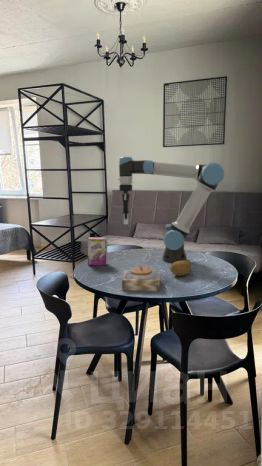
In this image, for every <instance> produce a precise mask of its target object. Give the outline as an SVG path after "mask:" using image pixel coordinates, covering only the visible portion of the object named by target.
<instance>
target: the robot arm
mask: <svg viewBox="0 0 262 466" xmlns="http://www.w3.org/2000/svg"><path fill="white" fill-rule="evenodd" d="M118 162H119V164H118V169H119V170H118V171H119V177H118V181H119V182H118V184H119V185H118V187H119V190H118V191H119V192H123V193H122V195H121V196H122V202H123V205H122V206H123V209H122V210H123V212H122V214H123V225H129V214H130V211H129V210H130V209H129V202H130V193H129V192H132V191H133V175H135V174H136V175H139V174H140V175H151V176H152V175H153V176H162V177H175V178H184V179H193V180H196V181H195V182H196V186H195V188H194V189H193V191H192V193H191V194H190V196H189V198H188V199H187V202H186V203H185V205H184V207H183V208H182V209H181V212H180V214H179V215H178V217H177V219H176V220H175V221H173V222H171V223H167V224H166V225H165V234H164V236H163V243H164V246H165V248H164V252H163V254H162V261H163V262H166V263H170V264H173V263H174V262H177V261H181V260H187V261H188V258H187V253H186V250H185V240H186V239H187V237H188V236H189V235H190V227H192V224H193V223H194V221H195V219H196V217H197V216H198V214H199V213H200V211H201V209H202V208H203V205H205V202H206V201H207V199H208V197H209V196H210V194H211V193H213V192H215V191H216V189H217V188H218V186H219V184H220V183H222V181H223V179H224V178H225V170H224V168H223V166H222V165H221V164H220V163H218V162H210V163H207V164H197V165H190V164H189V165H188V164H177V163H168V162H159V161H158V162H155V161H153V160H149V159H146V160H145V159H144V160H143V159H142V160H141V159H140V160H133V157H131V156H121V157H119V161H118Z"/></svg>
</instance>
